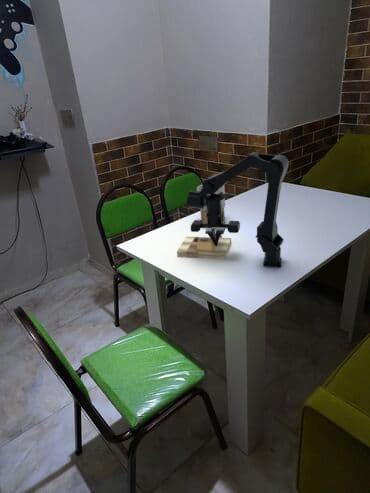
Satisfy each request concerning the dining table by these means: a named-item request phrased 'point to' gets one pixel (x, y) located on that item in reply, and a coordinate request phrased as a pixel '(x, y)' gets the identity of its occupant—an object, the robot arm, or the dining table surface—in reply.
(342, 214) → the dining table surface
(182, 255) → the subfloor board
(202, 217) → the planter
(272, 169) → the robot arm
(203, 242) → the block
